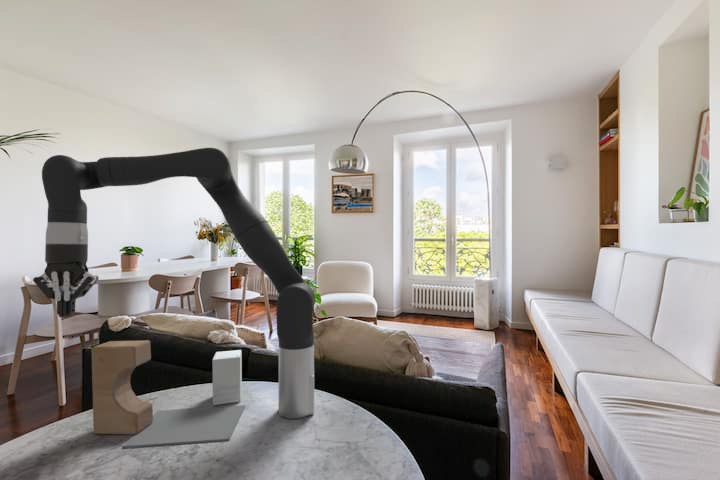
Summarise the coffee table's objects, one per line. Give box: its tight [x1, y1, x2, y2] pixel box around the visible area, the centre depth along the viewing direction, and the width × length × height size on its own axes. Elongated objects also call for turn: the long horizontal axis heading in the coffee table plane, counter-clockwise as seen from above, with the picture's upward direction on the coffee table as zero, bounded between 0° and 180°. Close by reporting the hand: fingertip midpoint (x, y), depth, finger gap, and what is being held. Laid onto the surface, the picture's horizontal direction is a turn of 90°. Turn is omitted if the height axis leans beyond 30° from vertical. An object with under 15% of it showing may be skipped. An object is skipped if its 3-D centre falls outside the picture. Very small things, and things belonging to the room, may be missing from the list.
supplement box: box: [211, 349, 243, 406], centre depth 96 cm, size 7×7×13 cm
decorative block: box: [91, 339, 154, 435], centre depth 79 cm, size 11×6×20 cm, turn 84°
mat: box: [122, 404, 246, 449], centre depth 81 cm, size 22×16×1 cm
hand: (65, 316), depth 78 cm, fingers closed
